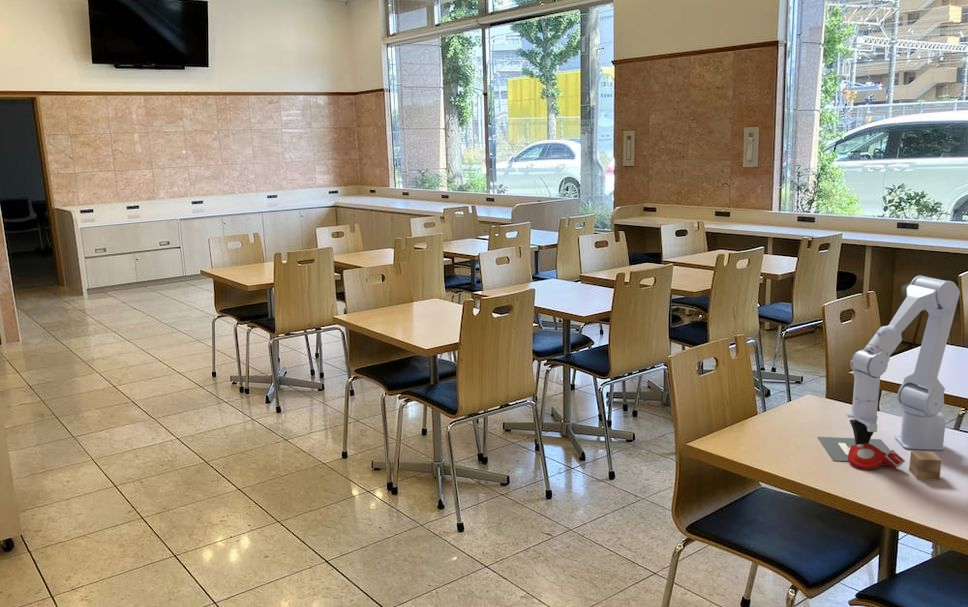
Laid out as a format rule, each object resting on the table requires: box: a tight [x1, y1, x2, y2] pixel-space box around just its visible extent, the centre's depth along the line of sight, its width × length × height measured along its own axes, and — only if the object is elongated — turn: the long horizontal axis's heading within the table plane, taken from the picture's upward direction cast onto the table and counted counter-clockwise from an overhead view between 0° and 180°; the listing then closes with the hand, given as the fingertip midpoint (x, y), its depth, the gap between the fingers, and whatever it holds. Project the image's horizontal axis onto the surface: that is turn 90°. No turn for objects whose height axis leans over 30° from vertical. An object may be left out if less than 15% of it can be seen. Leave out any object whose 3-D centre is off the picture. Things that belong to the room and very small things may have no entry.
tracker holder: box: [848, 443, 906, 470], centre depth 198 cm, size 12×4×10 cm
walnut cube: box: [908, 450, 942, 481], centre depth 191 cm, size 5×5×5 cm
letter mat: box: [817, 436, 893, 463], centre depth 207 cm, size 16×16×1 cm
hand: (861, 448), depth 204 cm, fingers closed
